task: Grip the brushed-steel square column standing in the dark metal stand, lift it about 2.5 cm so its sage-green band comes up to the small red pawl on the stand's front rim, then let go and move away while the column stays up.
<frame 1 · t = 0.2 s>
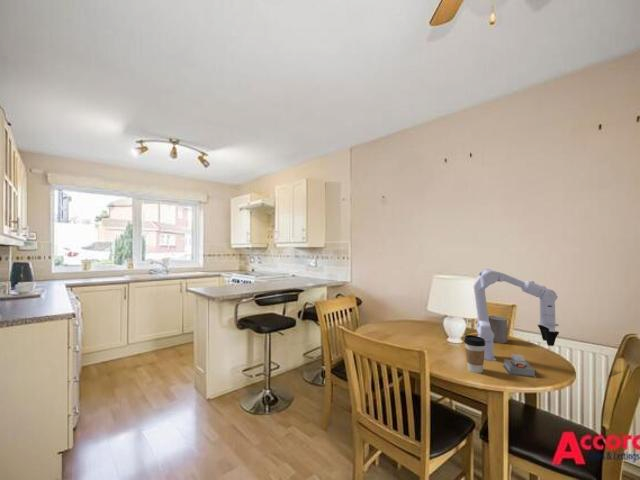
hand: (548, 343, 135), 10 cm above the table, tool pointing down, fingers open, 7 cm apart
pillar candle: (497, 341, 168), on the table
stand base: (518, 371, 127), on the table
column: (518, 363, 127), point 4 cm above the table, slide at 0.0 cm, touching stand base
coffee cup: (475, 371, 128), on the table
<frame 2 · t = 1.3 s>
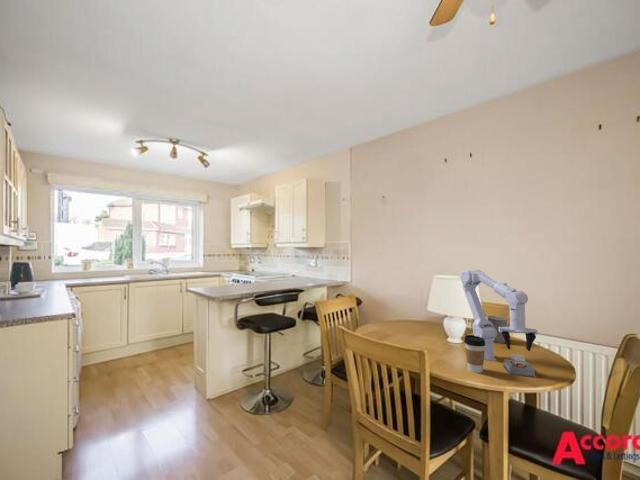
hand: (518, 349, 127), 10 cm above the table, tool pointing down, fingers open, 7 cm apart
nothing on the table moved.
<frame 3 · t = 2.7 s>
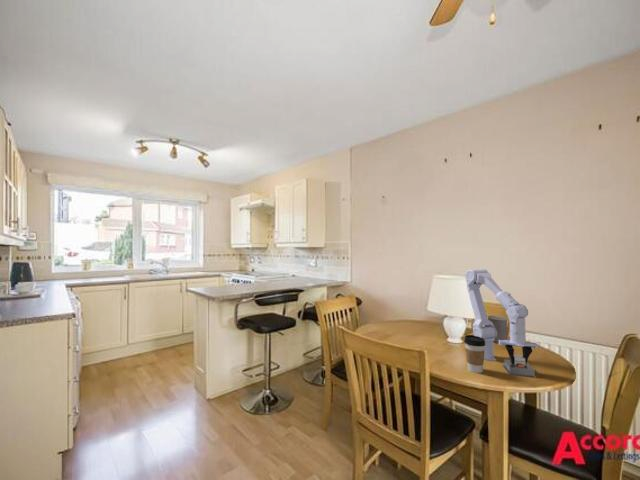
hand: (518, 362, 127), 4 cm above the table, tool pointing down, fingers closed on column, 4 cm apart
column: (518, 363, 127), point 4 cm above the table, slide at 0.0 cm, touching gripper, stand base
everything else where it was.
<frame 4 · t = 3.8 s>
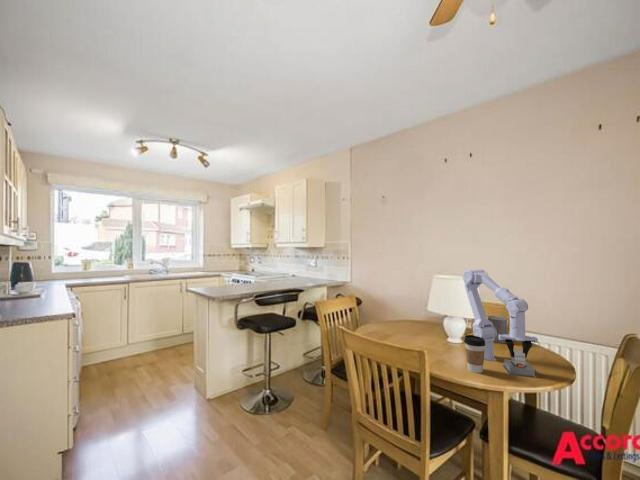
hand: (518, 357, 127), 6 cm above the table, tool pointing down, fingers closed on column, 4 cm apart
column: (518, 358, 127), point 6 cm above the table, slide at 2.1 cm, touching gripper
everything else where it was.
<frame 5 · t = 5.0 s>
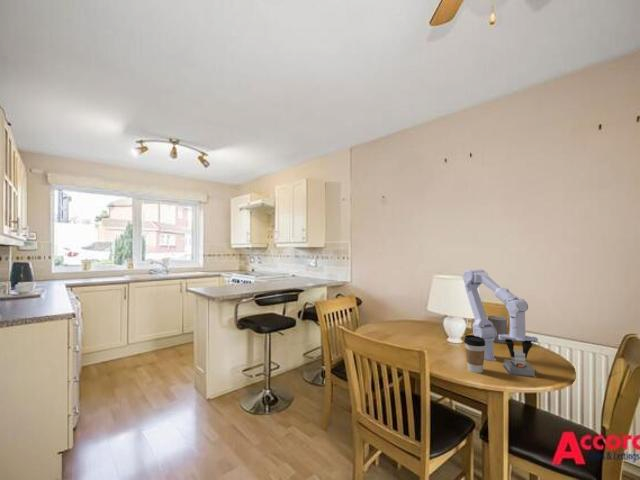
hand: (518, 357, 127), 6 cm above the table, tool pointing down, fingers open, 4 cm apart
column: (518, 358, 127), point 6 cm above the table, slide at 2.1 cm
everything else where it was.
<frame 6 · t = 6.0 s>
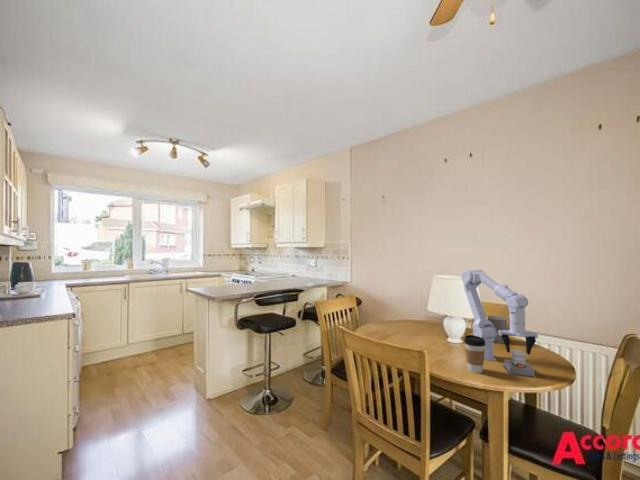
hand: (518, 352, 127), 8 cm above the table, tool pointing down, fingers open, 7 cm apart
nothing on the table moved.
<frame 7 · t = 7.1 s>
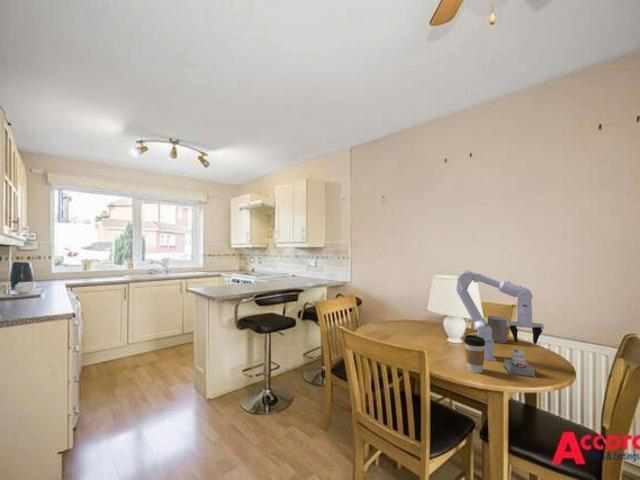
hand: (525, 342, 135), 10 cm above the table, tool pointing down, fingers open, 7 cm apart
nothing on the table moved.
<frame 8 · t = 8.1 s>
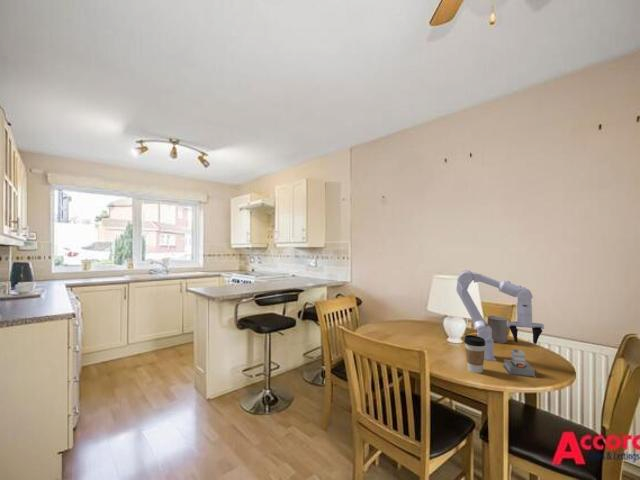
hand: (525, 342, 135), 10 cm above the table, tool pointing down, fingers open, 7 cm apart
nothing on the table moved.
at the end: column slide at 2.1 cm; the gripper is holding nothing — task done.
